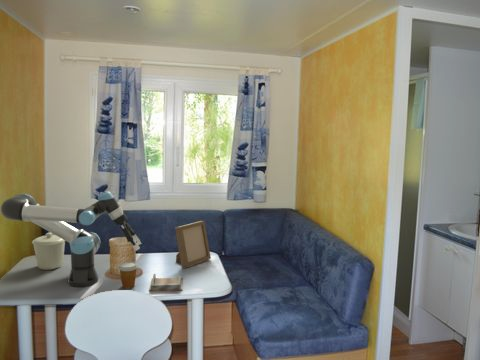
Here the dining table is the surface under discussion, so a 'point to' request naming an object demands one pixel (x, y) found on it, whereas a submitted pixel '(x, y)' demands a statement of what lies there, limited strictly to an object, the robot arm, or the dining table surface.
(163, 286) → the rail cradle
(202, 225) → the photo frame
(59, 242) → the canister
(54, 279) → the dining table surface
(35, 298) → the dining table surface
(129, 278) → the disposable coffee cup
